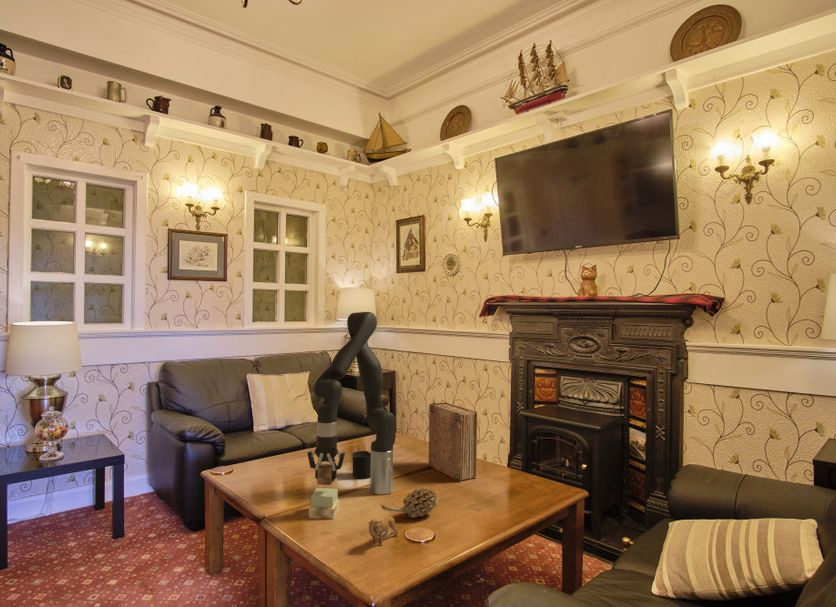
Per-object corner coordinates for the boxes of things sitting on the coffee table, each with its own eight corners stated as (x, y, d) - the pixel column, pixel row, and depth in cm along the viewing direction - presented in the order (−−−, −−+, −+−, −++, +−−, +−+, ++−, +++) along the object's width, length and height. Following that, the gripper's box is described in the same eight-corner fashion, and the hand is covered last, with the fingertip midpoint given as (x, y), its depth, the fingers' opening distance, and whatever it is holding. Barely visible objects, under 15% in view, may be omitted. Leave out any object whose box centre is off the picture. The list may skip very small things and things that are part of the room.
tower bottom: (338, 509, 189) (339, 499, 189) (333, 519, 180) (333, 508, 180) (315, 508, 189) (315, 498, 189) (308, 518, 180) (309, 507, 180)
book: (476, 478, 224) (477, 411, 225) (460, 482, 219) (461, 413, 220) (444, 463, 246) (445, 402, 246) (428, 466, 241) (429, 403, 241)
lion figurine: (378, 552, 156) (379, 523, 156) (364, 548, 158) (364, 519, 158) (401, 533, 169) (401, 506, 169) (387, 530, 171) (388, 503, 172)
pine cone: (430, 508, 191) (431, 481, 191) (442, 517, 182) (442, 490, 182) (376, 517, 182) (376, 490, 182) (385, 528, 173) (386, 499, 173)
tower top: (337, 499, 188) (337, 488, 188) (332, 507, 180) (332, 496, 180) (316, 498, 189) (316, 487, 189) (310, 507, 181) (310, 495, 181)
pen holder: (374, 473, 230) (375, 451, 230) (370, 480, 220) (371, 457, 220) (354, 472, 231) (355, 450, 231) (349, 479, 221) (350, 456, 221)
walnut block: (334, 480, 186) (334, 464, 187) (330, 485, 182) (331, 468, 182) (320, 479, 187) (321, 463, 187) (317, 484, 182) (317, 467, 182)
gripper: (348, 431, 188) (347, 477, 187) (310, 430, 189) (309, 475, 189) (343, 437, 180) (342, 484, 180) (304, 435, 181) (303, 482, 181)
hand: (325, 479), depth 184 cm, fingers closed on walnut block, 5 cm apart
